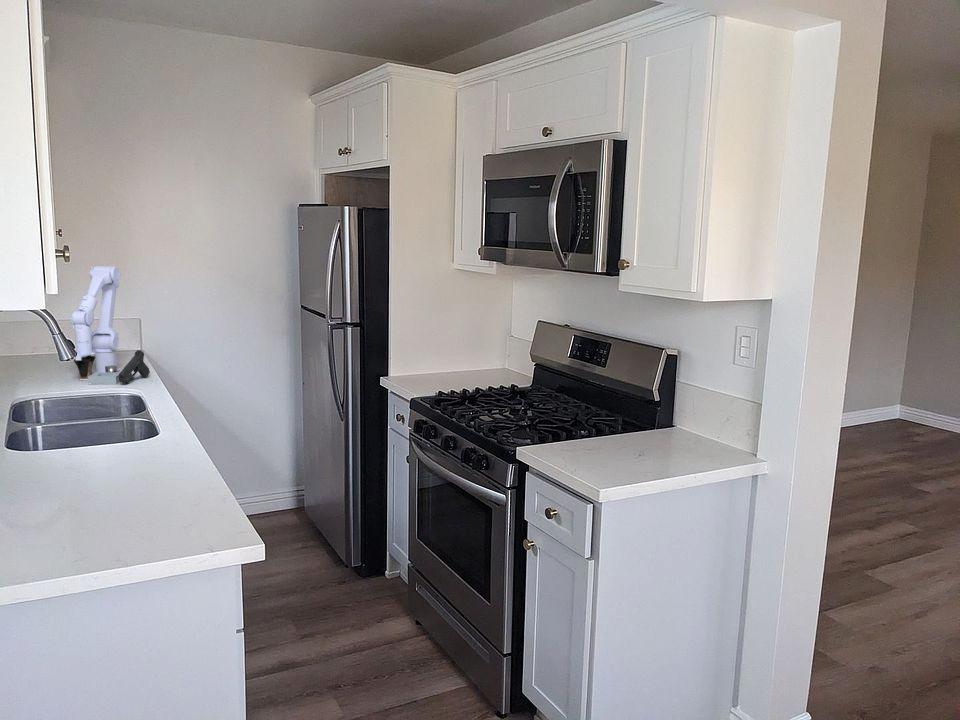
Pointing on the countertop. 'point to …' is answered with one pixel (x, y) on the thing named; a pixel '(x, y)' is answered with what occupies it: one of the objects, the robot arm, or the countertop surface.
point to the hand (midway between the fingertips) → (85, 375)
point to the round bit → (111, 368)
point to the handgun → (134, 368)
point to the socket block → (104, 378)
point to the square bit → (88, 371)
